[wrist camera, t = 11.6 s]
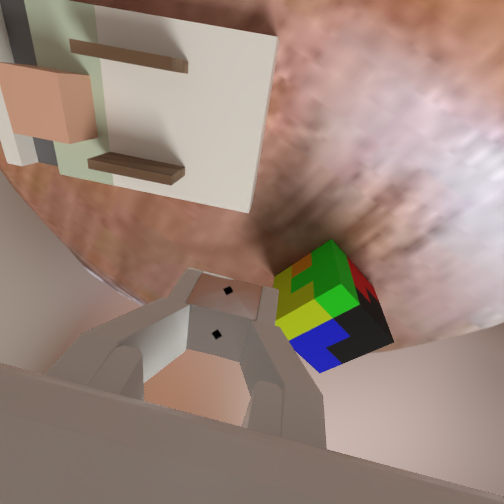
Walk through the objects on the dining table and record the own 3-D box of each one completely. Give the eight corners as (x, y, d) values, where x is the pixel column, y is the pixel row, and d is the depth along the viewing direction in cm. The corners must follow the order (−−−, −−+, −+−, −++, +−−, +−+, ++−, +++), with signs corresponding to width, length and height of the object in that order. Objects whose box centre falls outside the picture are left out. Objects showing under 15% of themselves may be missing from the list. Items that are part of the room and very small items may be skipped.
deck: (-17, -10, 28) (-48, -20, 26) (279, 41, 27) (277, 36, 24) (27, 158, 37) (7, 163, 35) (252, 204, 36) (248, 213, 33)
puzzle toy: (316, 318, 44) (319, 373, 35) (274, 276, 41) (267, 325, 32) (373, 287, 39) (394, 342, 31) (331, 238, 36) (341, 283, 28)
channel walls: (98, 45, 27) (68, 38, 23) (188, 61, 26) (171, 57, 23) (110, 160, 32) (88, 168, 29) (184, 175, 32) (171, 185, 29)
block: (34, 65, 28) (-7, 61, 25) (89, 75, 28) (56, 72, 24) (48, 128, 32) (13, 132, 28) (98, 137, 31) (69, 144, 27)
